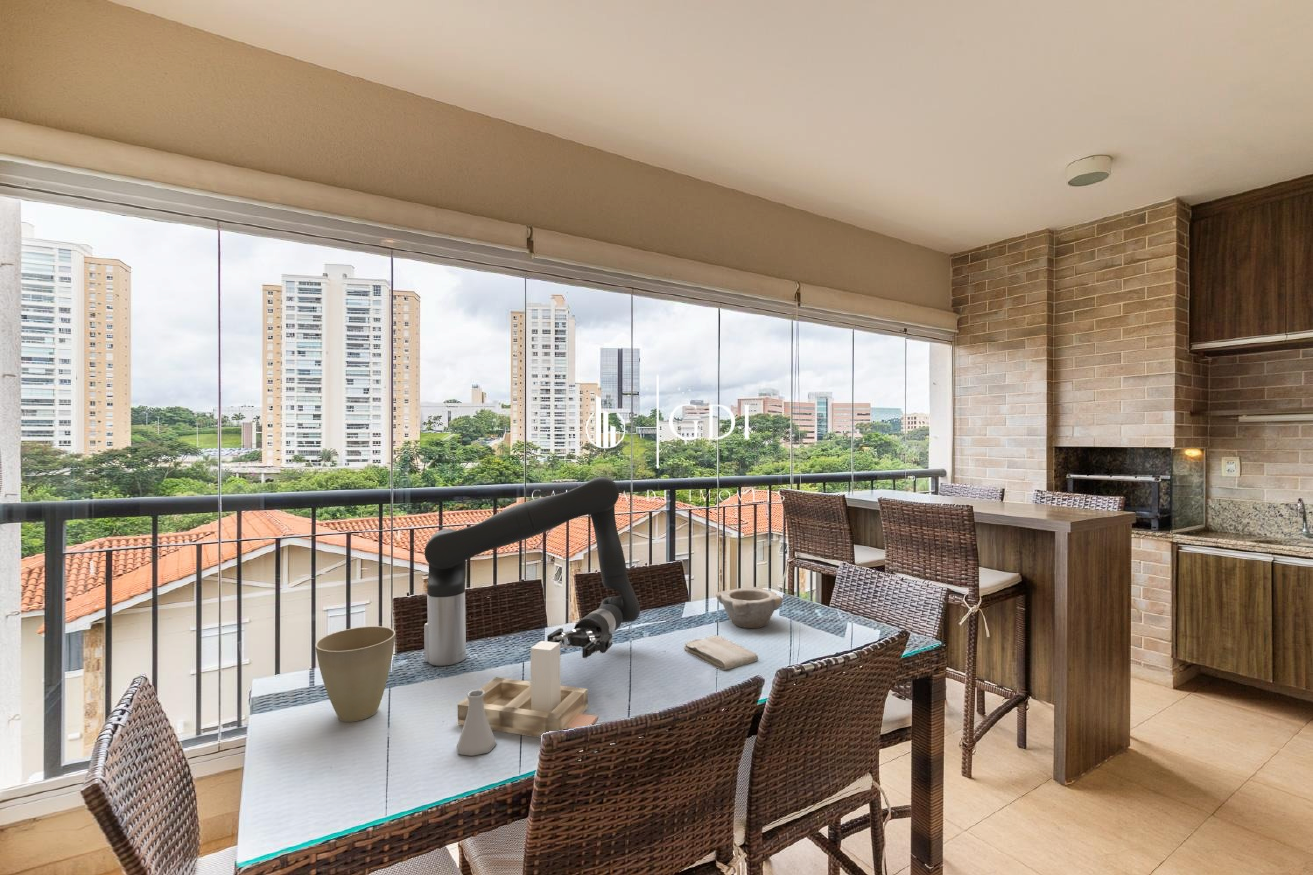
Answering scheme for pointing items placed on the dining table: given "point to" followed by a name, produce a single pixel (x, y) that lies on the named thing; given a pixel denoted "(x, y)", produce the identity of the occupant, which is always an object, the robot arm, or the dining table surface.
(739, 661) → the washcloth
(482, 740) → the flask
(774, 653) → the dining table surface
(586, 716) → the socket block
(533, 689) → the plug peg
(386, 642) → the plant pot
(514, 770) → the dining table surface
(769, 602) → the mortar
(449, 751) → the dining table surface
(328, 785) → the dining table surface
